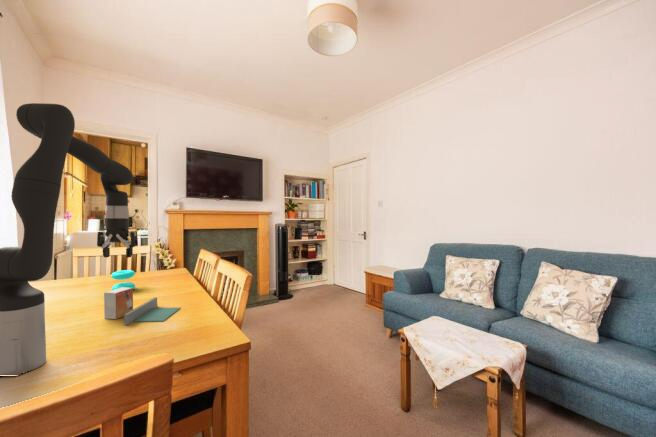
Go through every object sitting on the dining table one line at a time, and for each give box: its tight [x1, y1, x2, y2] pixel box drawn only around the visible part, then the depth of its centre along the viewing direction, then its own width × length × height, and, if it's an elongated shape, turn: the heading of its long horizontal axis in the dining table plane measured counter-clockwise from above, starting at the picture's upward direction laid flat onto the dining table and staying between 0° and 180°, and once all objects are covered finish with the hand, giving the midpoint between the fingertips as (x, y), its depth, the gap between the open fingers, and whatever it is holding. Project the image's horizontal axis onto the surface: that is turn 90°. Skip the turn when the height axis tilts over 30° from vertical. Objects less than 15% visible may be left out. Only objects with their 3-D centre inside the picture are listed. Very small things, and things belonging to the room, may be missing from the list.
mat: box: [133, 307, 181, 323], centre depth 114 cm, size 14×11×1 cm
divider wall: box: [123, 297, 158, 326], centre depth 114 cm, size 20×1×4 cm, turn 3°
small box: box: [103, 287, 134, 320], centre depth 113 cm, size 8×6×10 cm
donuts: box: [111, 269, 136, 291], centre depth 147 cm, size 10×10×10 cm
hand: (117, 257), depth 112 cm, fingers open, 8 cm apart
